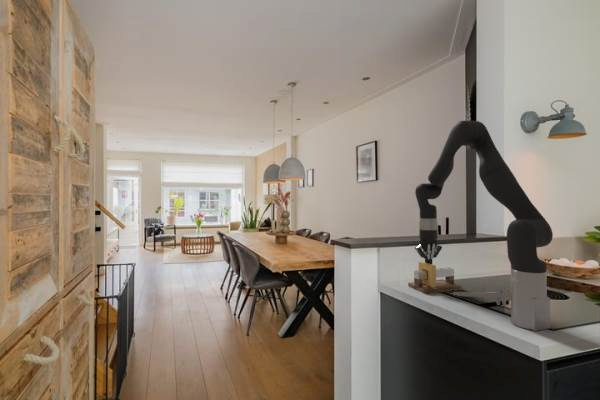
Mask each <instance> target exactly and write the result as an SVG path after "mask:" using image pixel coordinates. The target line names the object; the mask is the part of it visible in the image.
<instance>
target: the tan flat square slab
mask: <svg viewBox="0 0 600 400" xmlns="http://www.w3.org/2000/svg"><path fill="white" fill-rule="evenodd" d="M424 269H425V270H427V271H428V279H423V284H425V285H427V286H430V287H436V280H437V278H436V269H437V265H435V264H433V263H432V264H429V263H426V262H425V261H418V270H424Z"/></svg>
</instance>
